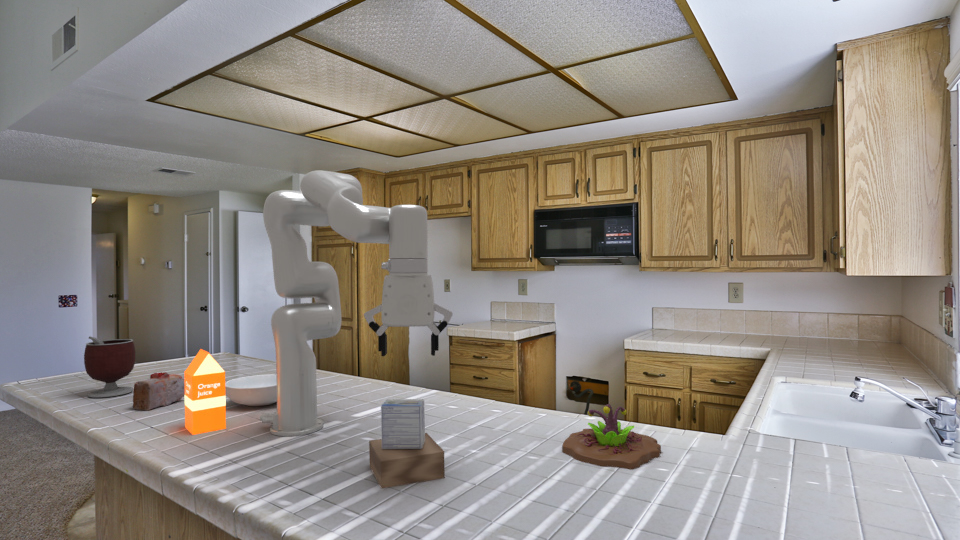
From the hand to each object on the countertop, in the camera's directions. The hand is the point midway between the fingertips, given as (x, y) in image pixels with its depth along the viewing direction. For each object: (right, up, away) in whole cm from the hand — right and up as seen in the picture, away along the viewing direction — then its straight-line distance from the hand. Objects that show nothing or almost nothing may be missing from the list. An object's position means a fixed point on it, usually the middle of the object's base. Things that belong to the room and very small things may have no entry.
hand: (408, 354), depth 100 cm
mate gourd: (-110, -25, +69) cm, 132 cm away
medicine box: (-1, -18, -1) cm, 18 cm away
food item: (-83, -24, +54) cm, 102 cm away
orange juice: (-56, -24, +30) cm, 68 cm away
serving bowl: (-53, -24, +55) cm, 80 cm away
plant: (+42, -23, +9) cm, 49 cm away
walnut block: (0, -24, -1) cm, 24 cm away
